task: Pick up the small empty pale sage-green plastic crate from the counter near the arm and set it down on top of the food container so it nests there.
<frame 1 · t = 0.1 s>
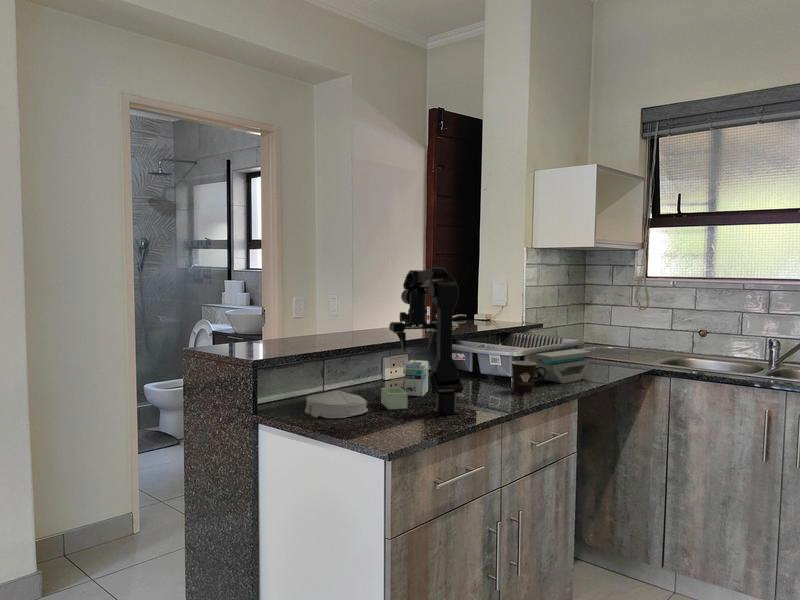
hand: (416, 351, 217), 15 cm above the countertop, tool pointing down, fingers open, 9 cm apart
crate: (393, 406, 199), on the countertop
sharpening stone: (563, 380, 245), on the countertop
coffee mug: (527, 391, 224), on the countertop
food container: (336, 412, 191), on the countertop
light bulb box: (416, 393, 218), on the countertop
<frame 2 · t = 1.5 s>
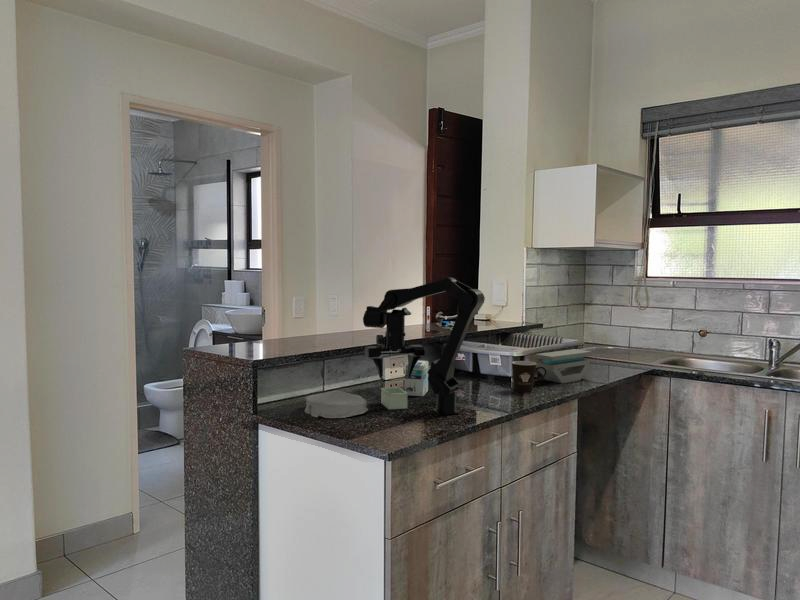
hand: (394, 377, 198), 9 cm above the countertop, tool pointing down, fingers open, 9 cm apart
nothing on the countertop moved.
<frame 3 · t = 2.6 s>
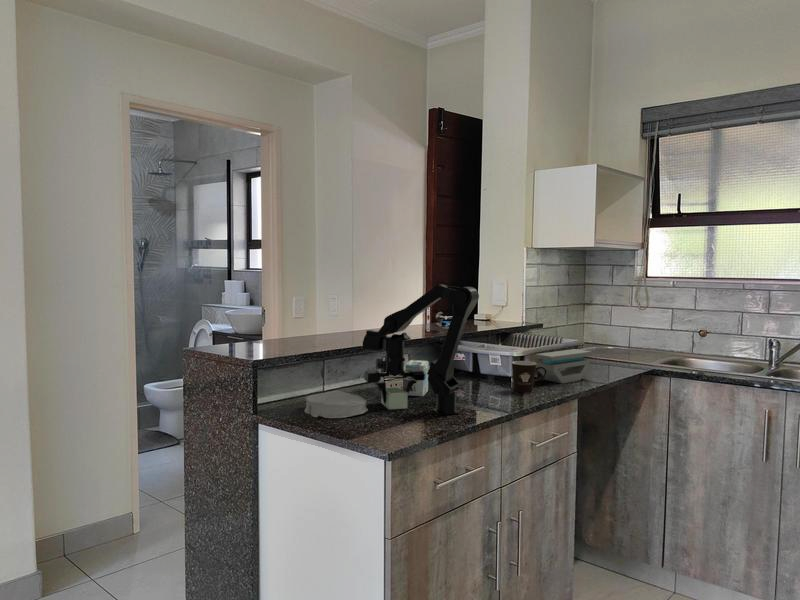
hand: (394, 402, 199), 1 cm above the countertop, tool pointing down, fingers closed on crate, 6 cm apart
crate: (394, 405, 199), on the countertop, touching gripper
everything else where it was.
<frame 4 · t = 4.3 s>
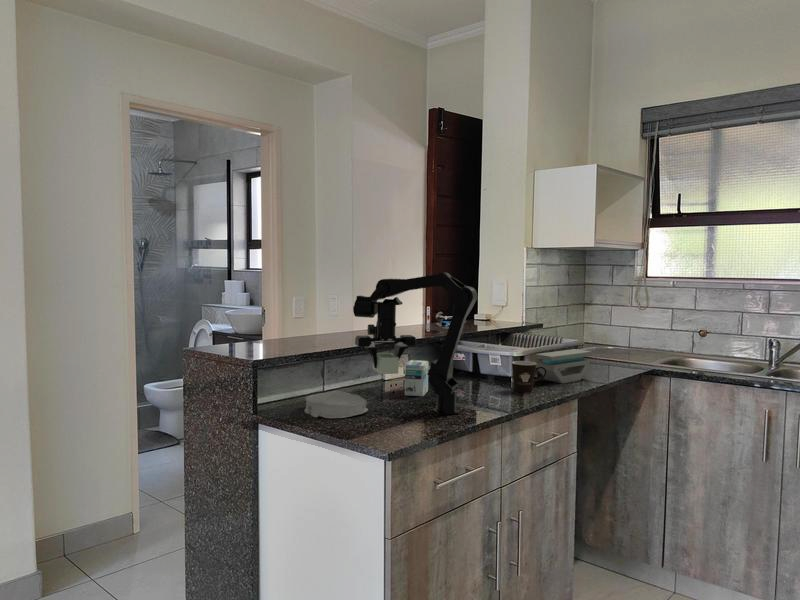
hand: (385, 367, 197), 12 cm above the countertop, tool pointing down, fingers closed on crate, 6 cm apart
crate: (385, 371, 197), point 11 cm above the countertop, touching gripper
everything else where it was.
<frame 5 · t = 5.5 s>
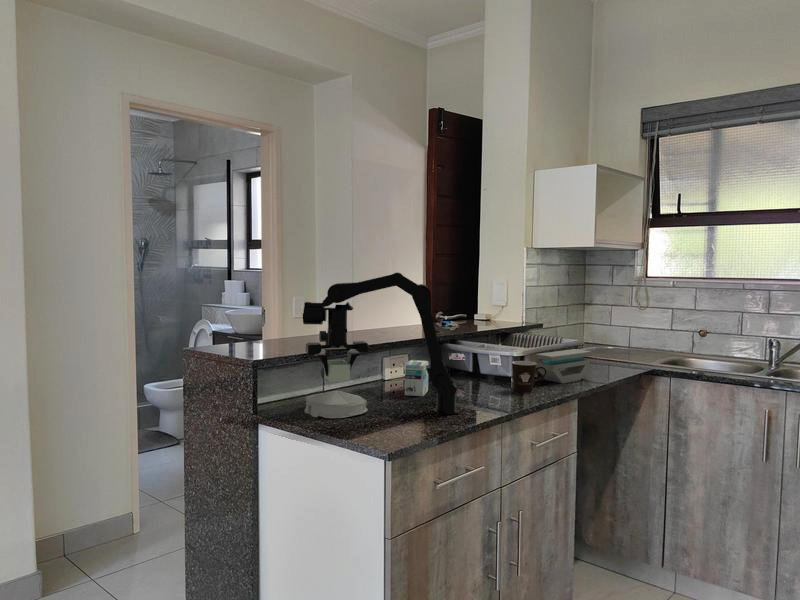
hand: (337, 375, 190), 11 cm above the countertop, tool pointing down, fingers closed on crate, 6 cm apart
crate: (337, 378, 191), point 10 cm above the countertop, touching gripper
everything else where it was.
when the fingers open (9 cm above the countertop, at t = 6.2 s): crate drops 2 cm, point 6 cm above the countertop.
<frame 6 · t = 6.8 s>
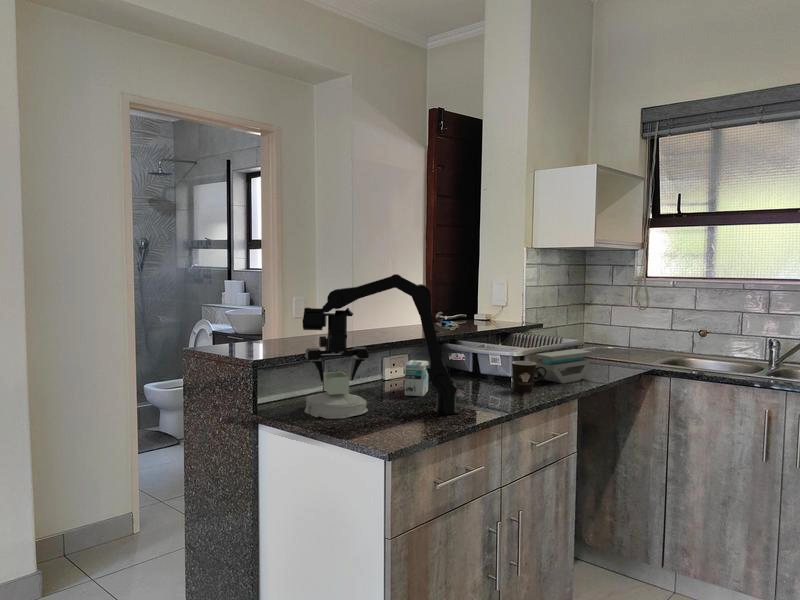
hand: (336, 381, 191), 9 cm above the countertop, tool pointing down, fingers open, 9 cm apart
crate: (336, 390, 191), point 6 cm above the countertop
everything else where it was.
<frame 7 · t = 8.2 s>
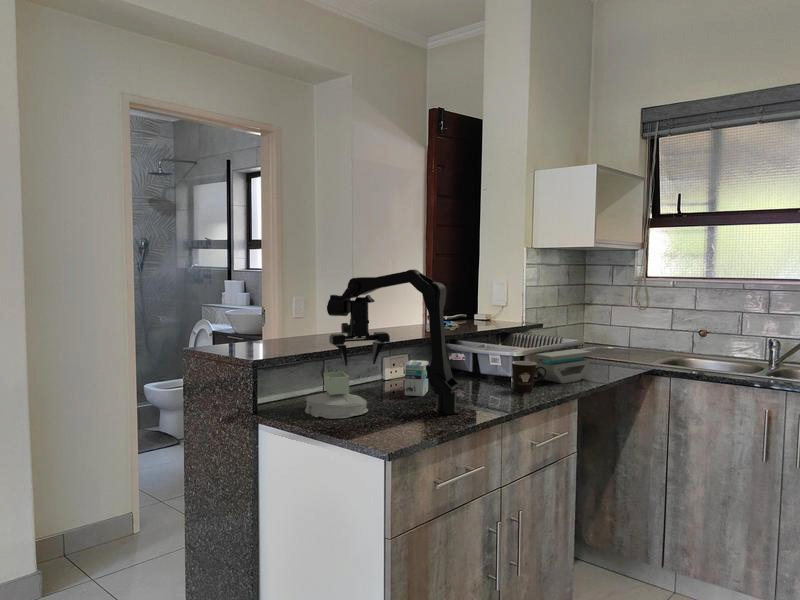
hand: (359, 364, 201), 12 cm above the countertop, tool pointing down, fingers open, 9 cm apart
nothing on the countertop moved.
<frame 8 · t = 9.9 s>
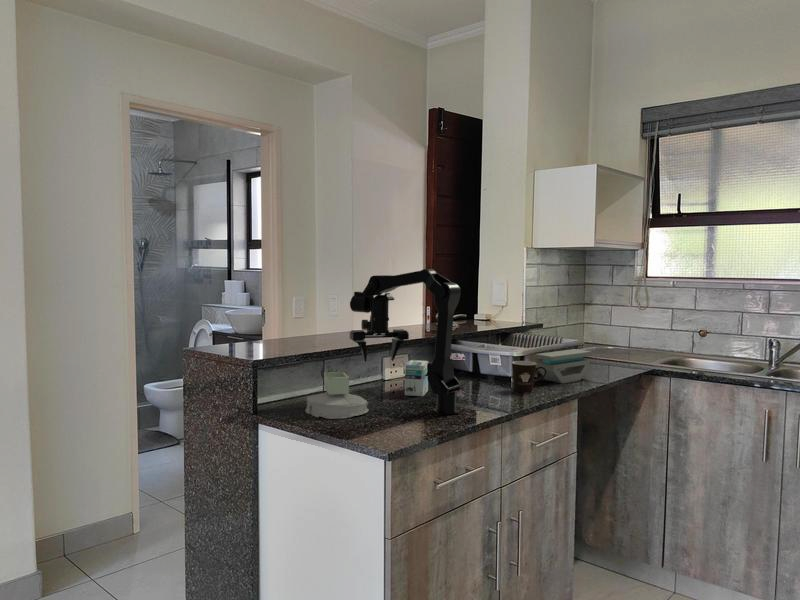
hand: (378, 361, 205), 13 cm above the countertop, tool pointing down, fingers open, 9 cm apart
crate: (336, 391, 191), point 6 cm above the countertop, touching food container
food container: (336, 412, 191), on the countertop, touching crate
everything else where it was.
at the end: crate 0.3 cm from the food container (horizontally); crate touching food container; crate tilted 1° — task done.
